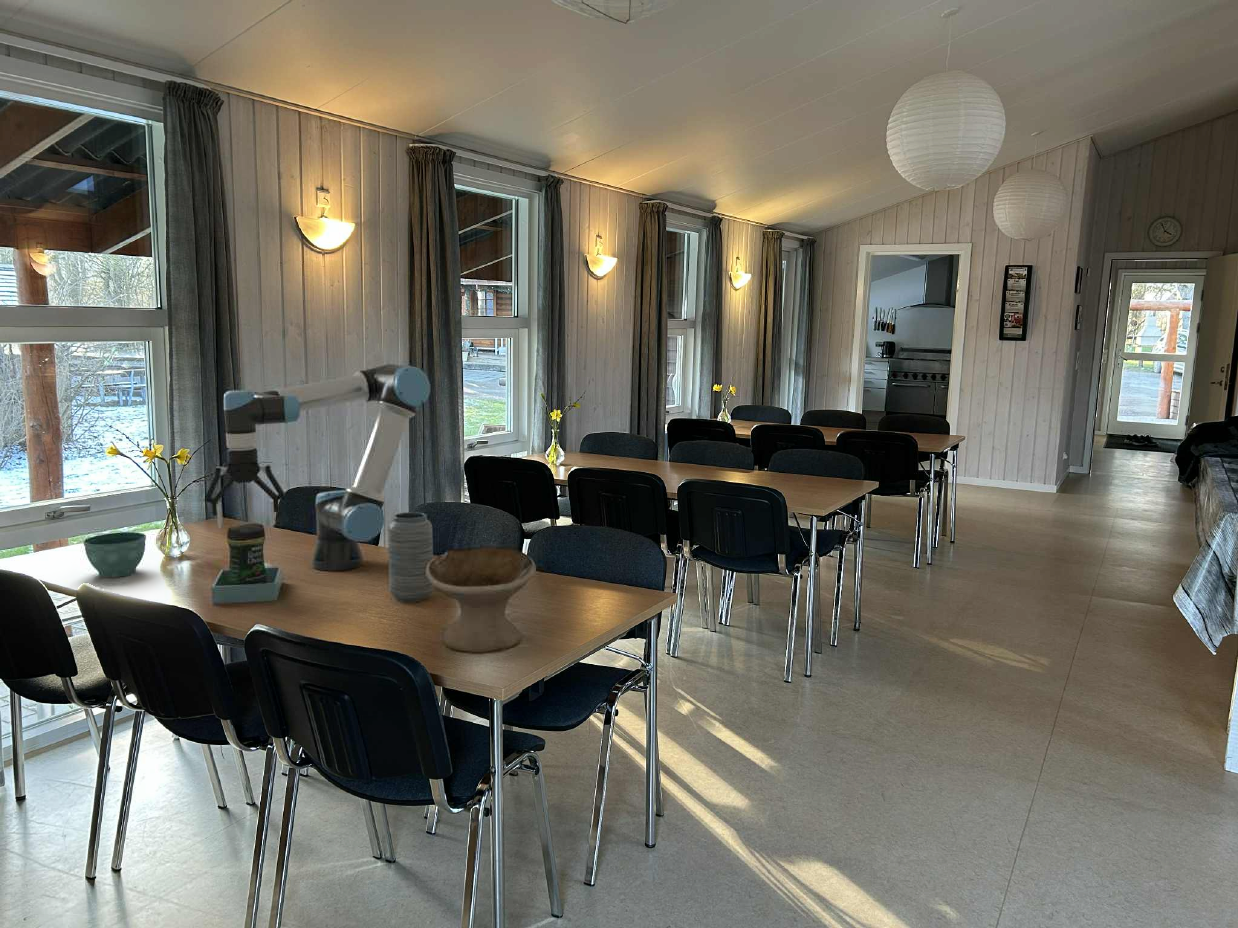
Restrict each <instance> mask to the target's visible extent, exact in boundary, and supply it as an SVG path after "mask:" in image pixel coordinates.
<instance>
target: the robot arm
mask: <svg viewBox="0 0 1238 928" xmlns="http://www.w3.org/2000/svg"><path fill="white" fill-rule="evenodd" d="M430 394H431V383H430V380H429V378H428V375H427V374H426V373H425V372H424V371H423V370H422V369H420V368H418V367H415V366H412V365H409V364H406V365H401V364H391V363H390V364H384V365H379V366H376V367H371V368H367V369H363V370H359V371H356V372H354V373H353V375H350V376H344V377H339V378H335V379H328V380H323V381H317V382H311V383H305V384H300V385H295V386H289V387H284V388H279V389H274V390H267V391H262V392H261V391H260V392H258V391H254V392H253V391H252V390H249V389H248V390H246V389H245V390H243V389H242V390H240V389H239V390H238V389H237V390H229V391H226V392H225V393H224V394H223V413H224V423H225V424H224V425H225V439H226V448H228V449H227V450H226V455H227V467H221V466H217V467H216V468H215V473H214V477H213V479H212V482H211V484H210V486H209V489H208V491H207V492H206V495H205V496H204V500H203V501H204V502H205V503H210V504H211V507H212V509H211V510H212V516H215V517H216V518H217V520H216V521H217V528H218V529H221V528H222V527H223V516H222V515H223V513H222V502H219V500H220V499H221V498H222V496H223V495H224V494H225V493H226V491H228V489H229V488H231V486H232V485H233V483H234V482H235V483H237V484H242V483H248V484H250V483H253V482H254V483H255V484H256V485H257V486H258V487H260V489H261V490H263V492H265V494H267V496H268V497H269V498H271V499H270V517H271V519H270V520H271V526H275V524H276V513H278V512H279V510H280V507H279V506H280V503H279V501H280V500H281V499H284V498H285V496H286V493H285V491H284V490H283V488H282V487H281V484H280V483H279V481H278V480H277V478H276V477H275V474H274V473H273V471H272V466H271V464H269V463H267V464H265V465H259V457H258V449H257V448H256V447H257V445H258V443H257V429H256V428H257V427H256V426H257V425H258V426H260V425H272V424H274V425H275V424H288V423H294V422H297V421H298V420H299V418H300V415H301V412H304V411H310V410H315V409H321V408H325V407H330V406H331V407H332V406H335V405H341V404H346V403H351V402H357V401H359V402H360V403H368V402H377V405H378V407H379V412H378V414H377V417H376V420H375V423H374V426H373V429H372V431H371V434H370V437H369V439H368V442H367V446H366V448H365V451H364V454H363V456H362V459H361V462H360V465H359V468H358V470H357V474H356V476H355V479H354V482H353V484H352V485H351V486H350V487H347V488H345V490H344V489H343V490H331V491H324V492H323V491H322V492H319V493H317V494H316V497H315V504H314V505H315V518H316V519H315V521H316V543H315V544H316V545H315V548H314V549H313V550H314V551H313V554H312V557H311V567H312V568H313V569H316V570H319V571H328V572H329V571H345V570H351V569H355V568H359V567H361V566H363V564H364V555H363V552H362V550H361V548H360V547H361V546H360V544H359V542H368V541H370V540H373V539H374V538H375V537H377V536H378V535H379V534H380V533H381V532H382V529H383V527H384V524H385V516H384V513H383V511H382V509H383V508H384V507H383V506H384V505H385V504H384V503H385V500H384V498H383V495H382V494H383V491H384V488H385V485H386V482H387V479H388V477H389V474H390V471H391V468H392V465H393V463H394V460H395V456H396V454H397V451H398V448H399V446H400V443H401V440H402V437H403V434H404V431H405V428H406V426H407V422H408V420H409V419H410V418H412V417H414V416H415V415H416V413H417V410H418V407H419V406H420V405H422V404H424V403H425V402H426V401H427V400H428V398H429V396H430ZM260 471H262V473H263V474H266V476H267V478H268V480H269V481H270V483H271V485H272V487H273V488H274V490H275V491H276V492H275V491H274V490H272V489H271V488H270V487H269V486H268V485H267V483H265V482H264V480H262V478H260V476H259V475H258V474H259V473H260ZM225 473H227V474H228V476H229V477H230V478H229V479H228V481H227V482H226V483H225V484H224V485H223V486H222V487H221V489H220V490H219V491H218V492H217V494H216V495H215V496H214V497H212V496H213V494H214V492H215V490H216V487H217V485H218V483H219V481H220V479H221V476H224V475H225Z"/></svg>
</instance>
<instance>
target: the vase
mask: <svg viewBox="0 0 1238 928" xmlns="http://www.w3.org/2000/svg"><path fill="white" fill-rule="evenodd" d="M427 517H428V516H427V514H425V513H424V512H416V511H415V512H414V511H410V512H400V513H395V514H394V515H393V516H392V518H393V519H392V521H390V522H389V524H388V527H387V538H388V540H387V541H388V544H387V545H388V585H389V589H388V590H389V593H390V594H391V596H392V597H394V598H395V601H397V602H400V603H406V604H407V603H408V604H410V603H411V604H412V603H420V602H422V601H426V600H427V599H428V598H429V596H430V595H431V594H432V592H433V589H434V587H433V586H432V585H431V584H430V582H429V580H428V578H427V576H426V568H427V565H428V563H429V562H430V561H432V560H433V559H434V554H433V553H434V552H433V551H434V549H433V547H434V546H433V545H434V544H433V542H434V541H433V525H432V522H431V521H430V520H429V519H427Z"/></svg>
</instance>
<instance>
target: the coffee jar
mask: <svg viewBox="0 0 1238 928" xmlns="http://www.w3.org/2000/svg"><path fill="white" fill-rule="evenodd" d="M265 540H266V532H265V527H264V525H263V524H261V523H256V522H251V523H244V524H238V525H233V526H230V527H229V526H228V528H227V534H226V542H227V544H228V548H229V569H228V570H229V581H228V586H232V585H249V584H267V579H266V571H265V564H264V563H265V557H264V543H265Z"/></svg>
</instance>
